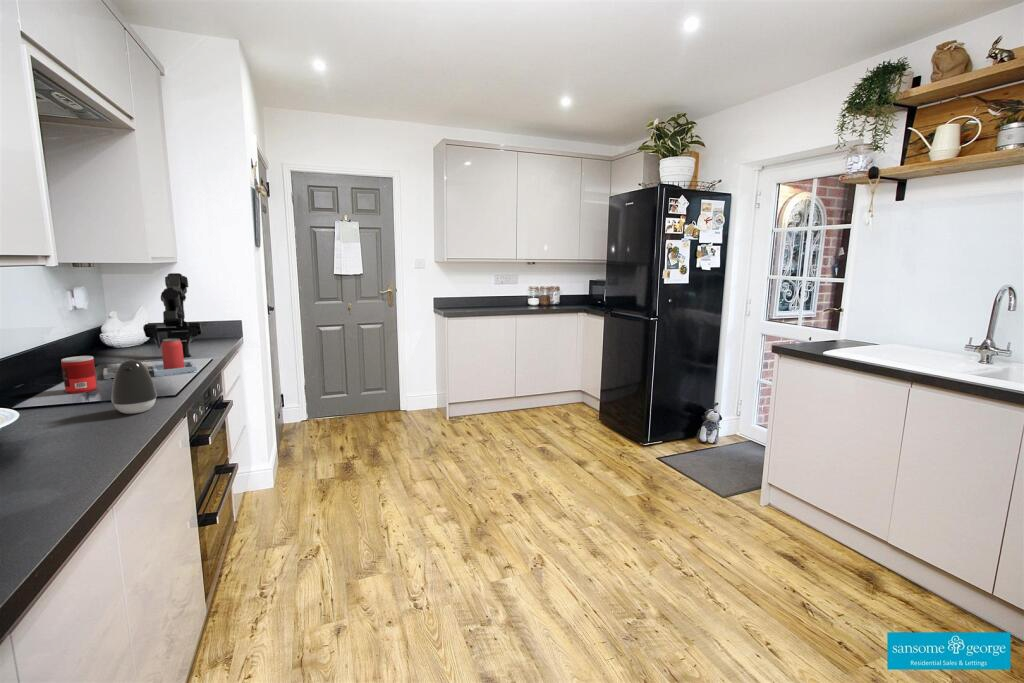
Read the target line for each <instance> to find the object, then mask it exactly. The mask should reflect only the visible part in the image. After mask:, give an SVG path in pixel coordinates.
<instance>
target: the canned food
mask: <svg viewBox="0 0 1024 683" xmlns="http://www.w3.org/2000/svg"><path fill="white" fill-rule="evenodd" d="M60 360H61V361H60V364H61V370H62V376H63V384H64V389H65V392H66V393H67V394H71V393H74V394H83V392H84V393H89V392H92V390H93V391H95V389H96V390H97V388H98V382H97V374H96V373H97V372H96V367H95V366H96V365H95V358H94V356H92V355H79V356H71V357H70V356H69V357H65V358H62V359H60Z"/></svg>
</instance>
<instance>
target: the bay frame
mask: <svg viewBox="0 0 1024 683" xmlns="http://www.w3.org/2000/svg"><path fill="white" fill-rule="evenodd" d="M142 364H143V363H142ZM143 365H144V366H145V367H146V369H147V370H148V372H149V373H150V370H149V367H148V364H147V363H145V364H143ZM118 367H119V366H114V367H113V366H112V367H104V368H103V372H102V373H103V374H102V375H103V380H104V379H109V380H111V379H110V378H114V377H115V374H116V373H108V372H116V371H117V369H118Z"/></svg>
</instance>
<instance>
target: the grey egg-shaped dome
mask: <svg viewBox="0 0 1024 683" xmlns="http://www.w3.org/2000/svg"><path fill="white" fill-rule="evenodd" d="M117 367H118V369H117V371H116V374H115V377H114V379H113V382H112V387H111V403H112V404H113V405H114V407H115V409H116V410H117V411H119V412H120V413H123V414H127V415H135V414H141V413H145V412H147V411H149V410H151V408H153V406H154V405H155V404H156V399H157V397H158V393H157V390H156V386H155V383H154V381H153V379H152V375H151V374H150V371H149V372H148V370H147V369H146V367H145V366H144V365H143V363H142V362H141V361H140V360H137V359H127V360H125V361H122V362H121V363H120V364H119V366H117Z"/></svg>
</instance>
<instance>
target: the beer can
mask: <svg viewBox="0 0 1024 683" xmlns="http://www.w3.org/2000/svg"><path fill="white" fill-rule="evenodd" d="M181 341H182V340H180V339H177V338H174V339H168V338H165V339H162V342H161V344H160V349H161V355H162V364H163V366H164V370H166V369H175V368H184V362H185V357H183V348H182V343H181Z"/></svg>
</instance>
